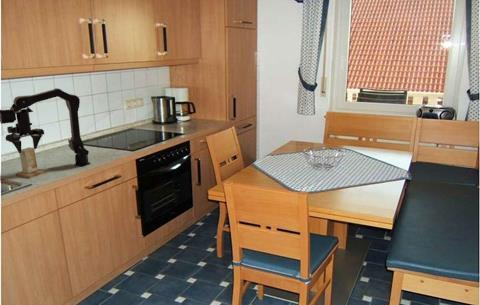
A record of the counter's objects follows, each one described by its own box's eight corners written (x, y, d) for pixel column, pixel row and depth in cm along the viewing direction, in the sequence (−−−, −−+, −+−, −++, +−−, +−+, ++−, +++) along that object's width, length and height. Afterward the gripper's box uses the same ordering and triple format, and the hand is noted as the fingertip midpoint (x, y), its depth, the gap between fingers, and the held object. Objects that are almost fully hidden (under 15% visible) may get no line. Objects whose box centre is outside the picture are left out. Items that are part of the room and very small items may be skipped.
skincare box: (28, 173, 212) (24, 151, 208) (22, 172, 213) (18, 150, 209) (38, 169, 217) (34, 147, 213) (32, 168, 219) (28, 147, 215)
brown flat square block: (32, 171, 222) (32, 168, 221) (46, 173, 218) (45, 170, 217) (16, 177, 213) (15, 173, 212) (30, 179, 209) (29, 175, 208)
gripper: (28, 117, 219) (32, 145, 223) (-5, 123, 202) (0, 153, 206) (43, 118, 214) (46, 147, 219) (11, 125, 198) (15, 156, 202)
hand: (27, 150), depth 212 cm, fingers open, 9 cm apart
